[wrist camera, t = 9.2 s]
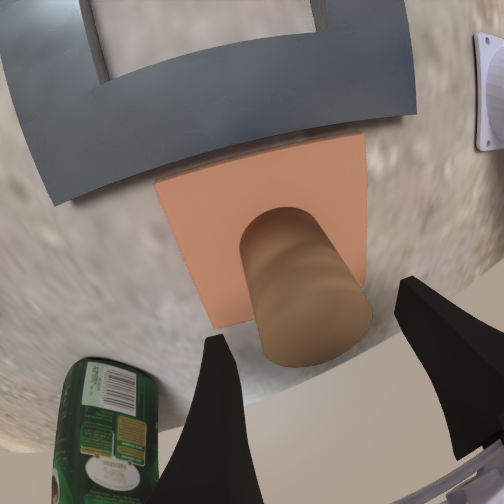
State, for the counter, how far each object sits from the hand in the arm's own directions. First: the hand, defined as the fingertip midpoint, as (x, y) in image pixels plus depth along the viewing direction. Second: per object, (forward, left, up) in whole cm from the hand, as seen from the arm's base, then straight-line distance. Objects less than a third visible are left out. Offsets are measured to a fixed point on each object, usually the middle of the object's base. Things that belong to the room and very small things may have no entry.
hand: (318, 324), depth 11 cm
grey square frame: (+1, -14, -6) cm, 15 cm away
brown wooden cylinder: (0, 0, -6) cm, 6 cm away
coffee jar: (+16, +10, -6) cm, 20 cm away
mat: (0, 0, -6) cm, 6 cm away
